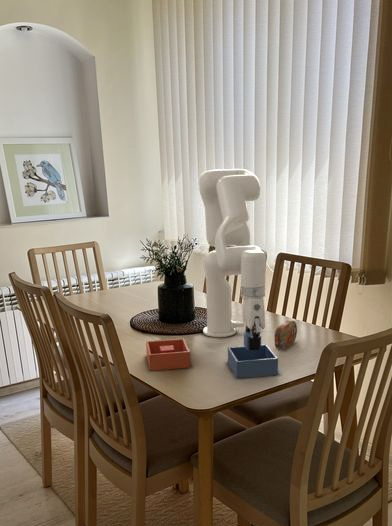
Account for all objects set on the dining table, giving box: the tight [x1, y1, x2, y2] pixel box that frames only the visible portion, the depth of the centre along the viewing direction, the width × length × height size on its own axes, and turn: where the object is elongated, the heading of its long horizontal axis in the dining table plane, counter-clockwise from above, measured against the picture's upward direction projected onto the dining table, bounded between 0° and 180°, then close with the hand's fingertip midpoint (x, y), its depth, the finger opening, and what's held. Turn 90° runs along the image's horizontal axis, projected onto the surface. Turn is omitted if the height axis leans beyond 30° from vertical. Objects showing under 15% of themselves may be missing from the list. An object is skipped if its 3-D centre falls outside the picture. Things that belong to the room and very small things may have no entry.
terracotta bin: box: [145, 338, 191, 372], centre depth 183 cm, size 13×13×6 cm
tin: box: [274, 320, 298, 351], centre depth 195 cm, size 15×3×8 cm, turn 148°
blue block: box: [243, 331, 262, 350], centre depth 173 cm, size 4×4×4 cm
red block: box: [160, 345, 175, 353], centre depth 183 cm, size 4×4×4 cm
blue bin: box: [227, 344, 279, 379], centre depth 176 cm, size 13×13×6 cm
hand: (252, 346), depth 174 cm, fingers closed on blue block, 4 cm apart
